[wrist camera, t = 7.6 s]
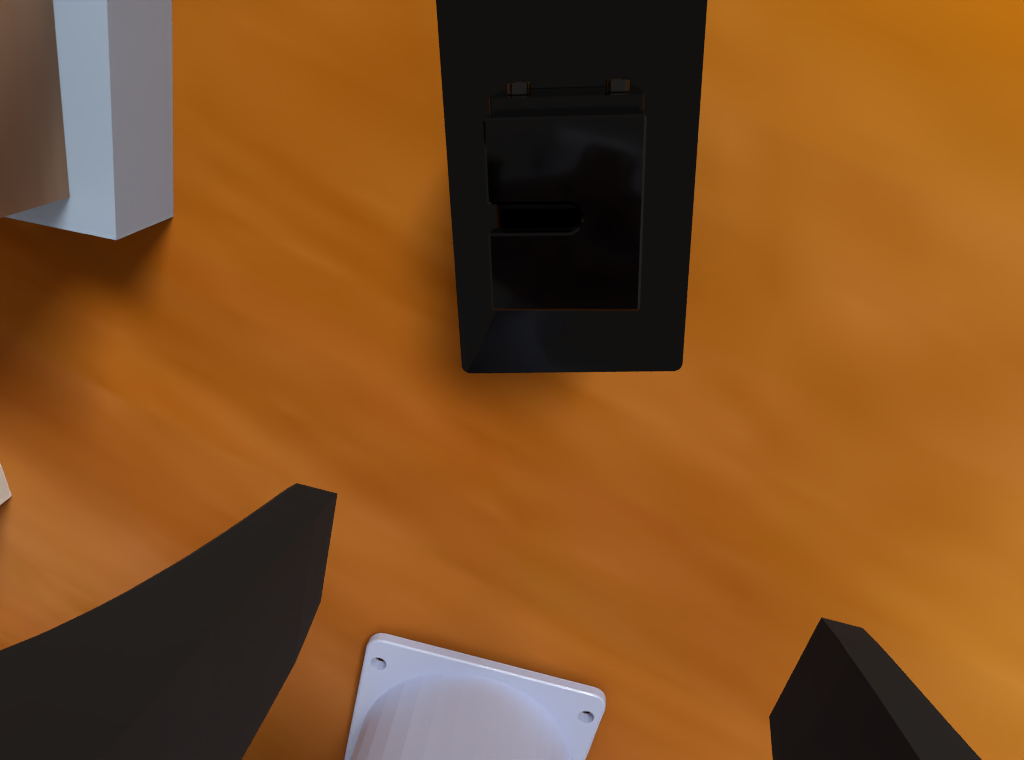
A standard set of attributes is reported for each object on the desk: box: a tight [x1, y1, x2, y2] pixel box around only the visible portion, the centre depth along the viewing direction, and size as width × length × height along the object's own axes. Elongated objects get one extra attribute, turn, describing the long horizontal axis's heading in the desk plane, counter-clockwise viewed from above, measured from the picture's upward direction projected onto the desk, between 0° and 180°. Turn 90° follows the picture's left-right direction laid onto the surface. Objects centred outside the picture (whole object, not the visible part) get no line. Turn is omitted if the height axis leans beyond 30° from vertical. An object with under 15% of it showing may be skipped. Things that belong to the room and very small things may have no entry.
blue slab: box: [6, 0, 173, 240], centre depth 18 cm, size 7×7×3 cm
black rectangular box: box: [436, 0, 707, 373], centre depth 17 cm, size 13×8×5 cm, turn 2°
